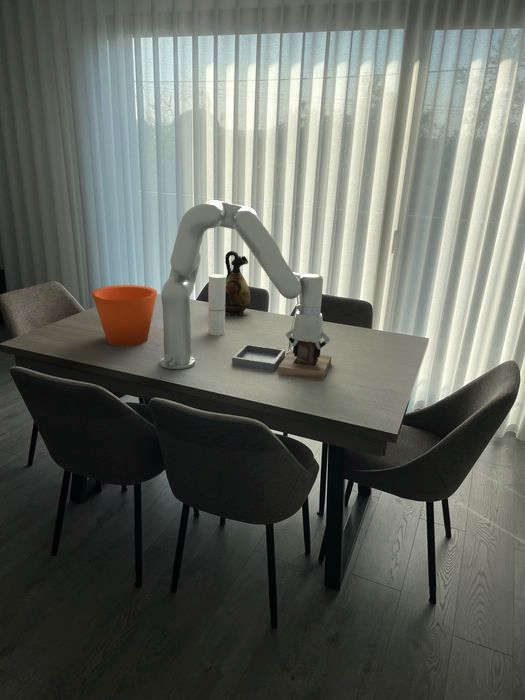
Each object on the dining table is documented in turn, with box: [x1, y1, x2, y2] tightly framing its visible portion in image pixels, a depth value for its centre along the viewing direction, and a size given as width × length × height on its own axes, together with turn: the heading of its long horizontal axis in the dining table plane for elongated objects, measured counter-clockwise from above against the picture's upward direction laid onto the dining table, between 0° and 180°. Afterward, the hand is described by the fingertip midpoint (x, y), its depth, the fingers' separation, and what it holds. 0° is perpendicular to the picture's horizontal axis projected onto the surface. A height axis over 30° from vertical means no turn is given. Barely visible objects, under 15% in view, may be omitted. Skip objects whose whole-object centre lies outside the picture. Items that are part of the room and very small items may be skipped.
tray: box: [231, 343, 286, 372], centre depth 193 cm, size 16×16×3 cm
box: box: [296, 341, 317, 367], centre depth 186 cm, size 6×4×12 cm
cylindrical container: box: [207, 273, 227, 336], centre depth 218 cm, size 7×7×25 cm
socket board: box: [277, 349, 332, 382], centre depth 187 cm, size 18×16×3 cm
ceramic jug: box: [224, 250, 251, 316], centre depth 249 cm, size 17×15×30 cm
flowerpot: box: [91, 284, 158, 347], centre depth 206 cm, size 25×25×20 cm
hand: (306, 356), depth 186 cm, fingers closed on box, 7 cm apart
